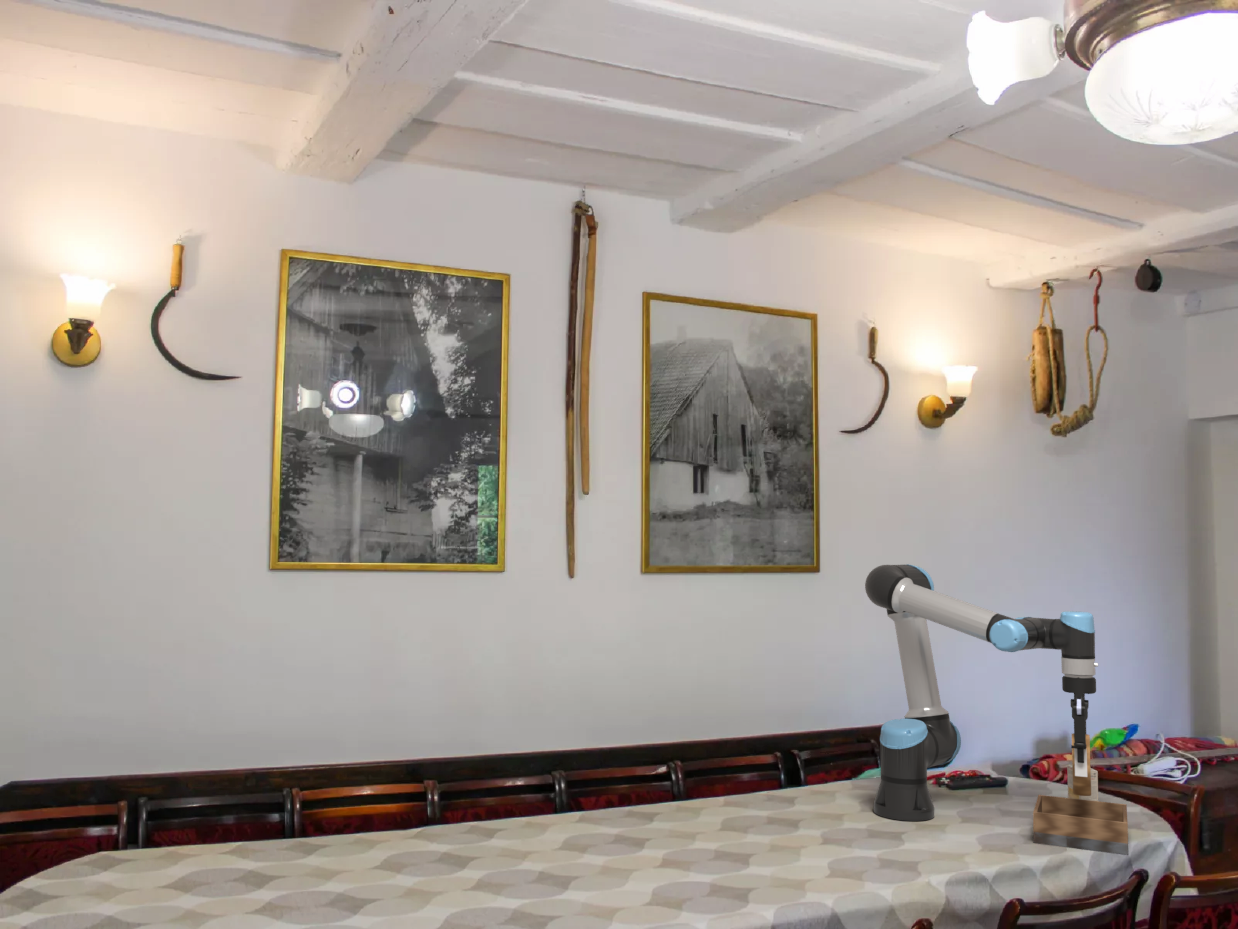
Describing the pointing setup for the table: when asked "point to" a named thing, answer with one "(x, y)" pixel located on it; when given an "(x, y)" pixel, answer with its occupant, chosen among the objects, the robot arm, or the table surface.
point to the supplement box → (1093, 785)
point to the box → (1081, 824)
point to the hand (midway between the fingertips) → (1081, 774)
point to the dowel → (1082, 783)
